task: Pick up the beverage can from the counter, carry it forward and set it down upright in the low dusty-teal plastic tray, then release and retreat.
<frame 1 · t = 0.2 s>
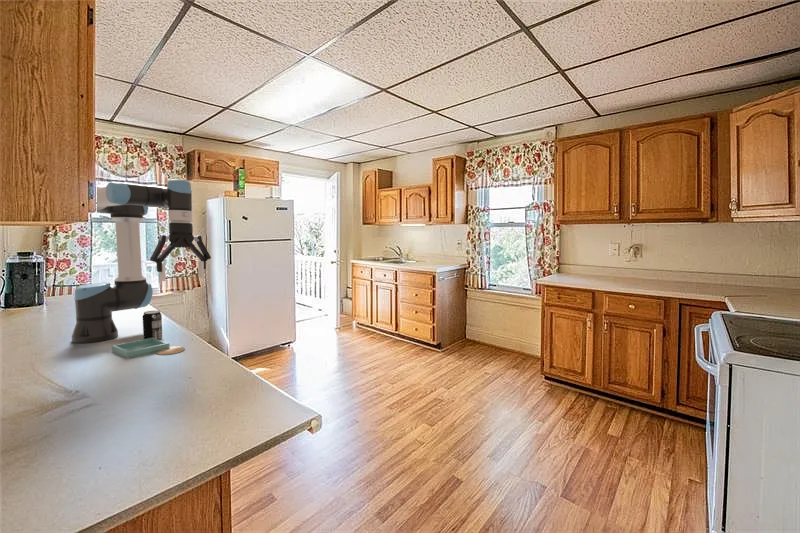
hand: (182, 279, 138), 28 cm above the counter, fingers open, 13 cm apart
cork coaster: (170, 351, 140), on the counter
tray: (141, 350, 140), on the counter
beverage can: (153, 340, 154), on the counter
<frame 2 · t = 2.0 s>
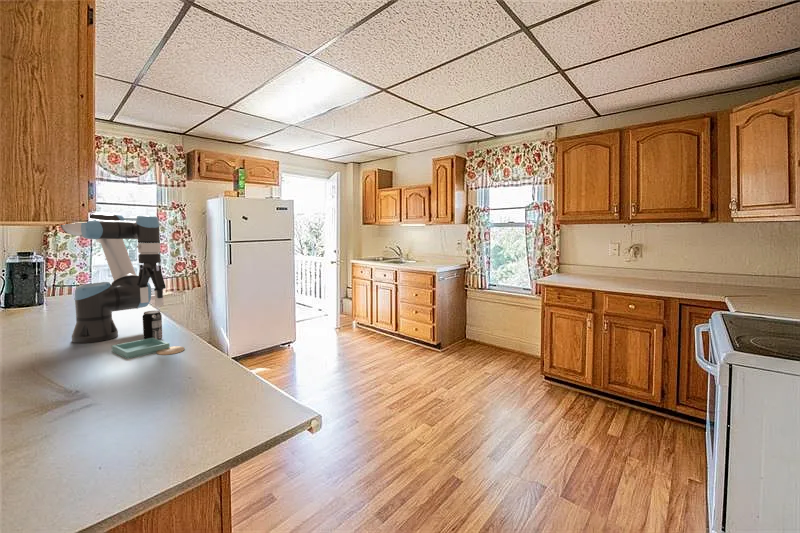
hand: (151, 304, 153), 15 cm above the counter, fingers open, 13 cm apart
nothing on the counter moved.
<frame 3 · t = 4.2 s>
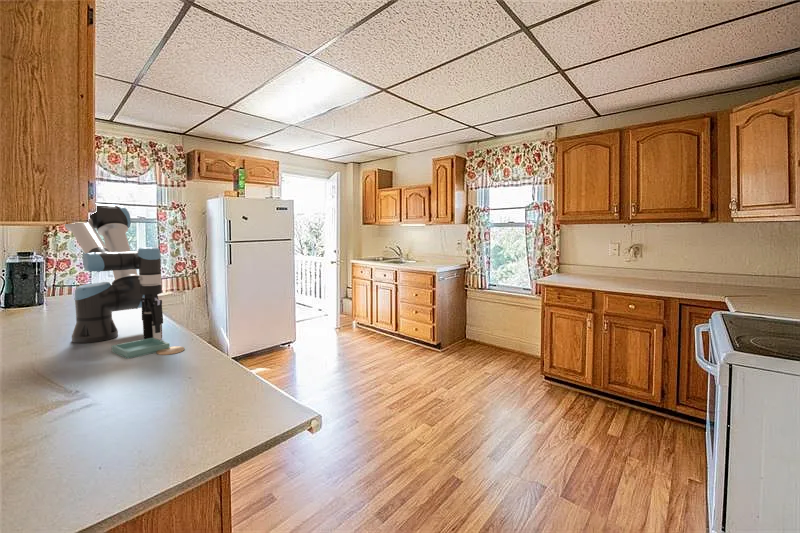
hand: (153, 338, 154), 0 cm above the counter, fingers closed on beverage can, 7 cm apart
beverage can: (153, 340, 154), on the counter, touching gripper
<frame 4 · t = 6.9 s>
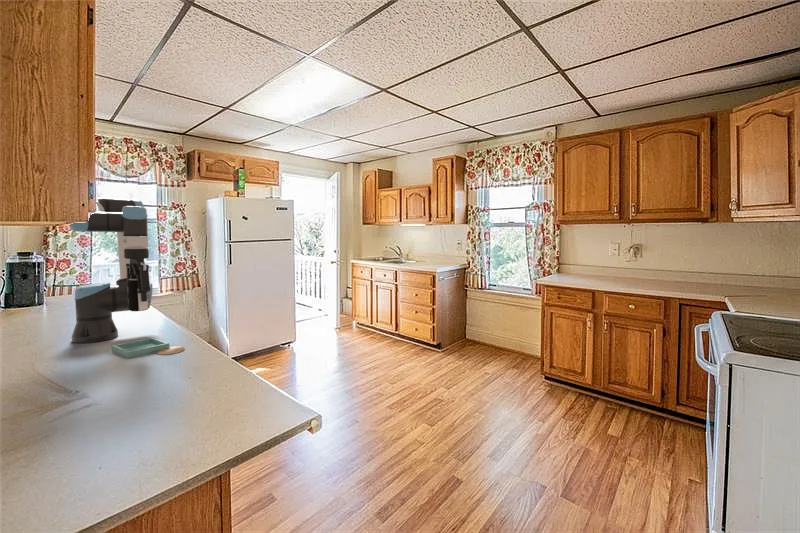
hand: (139, 308, 139), 16 cm above the counter, fingers closed on beverage can, 7 cm apart
beverage can: (139, 310, 139), point 15 cm above the counter, touching gripper
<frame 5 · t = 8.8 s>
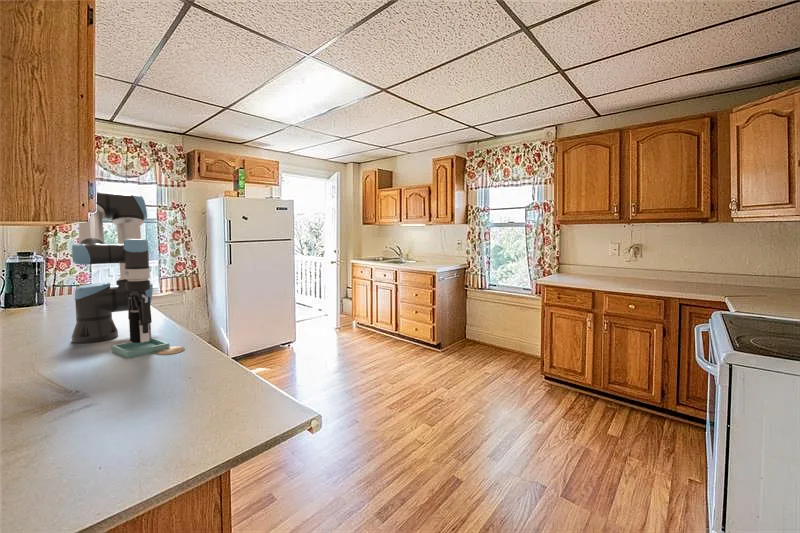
hand: (140, 339, 140), 4 cm above the counter, fingers closed on beverage can, 7 cm apart
beverage can: (140, 341, 140), point 3 cm above the counter, touching gripper
when the fingers open (3 cm above the counter, at t = 10.0 s): beverage can drops 1 cm, resting on tray.
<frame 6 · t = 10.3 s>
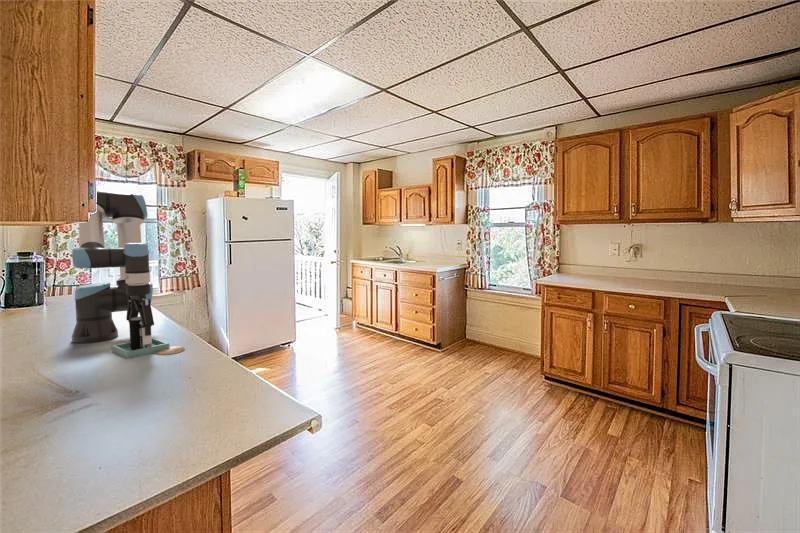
hand: (140, 341, 140), 3 cm above the counter, fingers open, 10 cm apart
beverage can: (141, 349, 140), resting on tray
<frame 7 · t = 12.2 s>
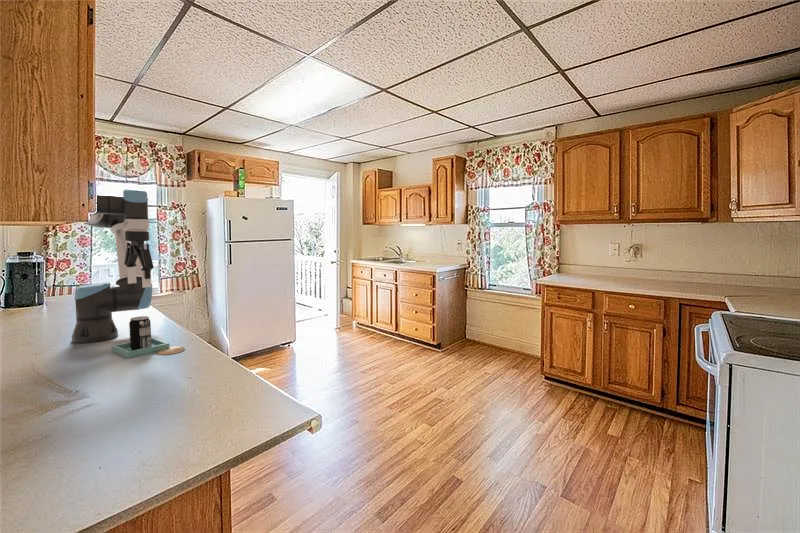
hand: (139, 285, 143), 24 cm above the counter, fingers open, 13 cm apart
nothing on the counter moved.
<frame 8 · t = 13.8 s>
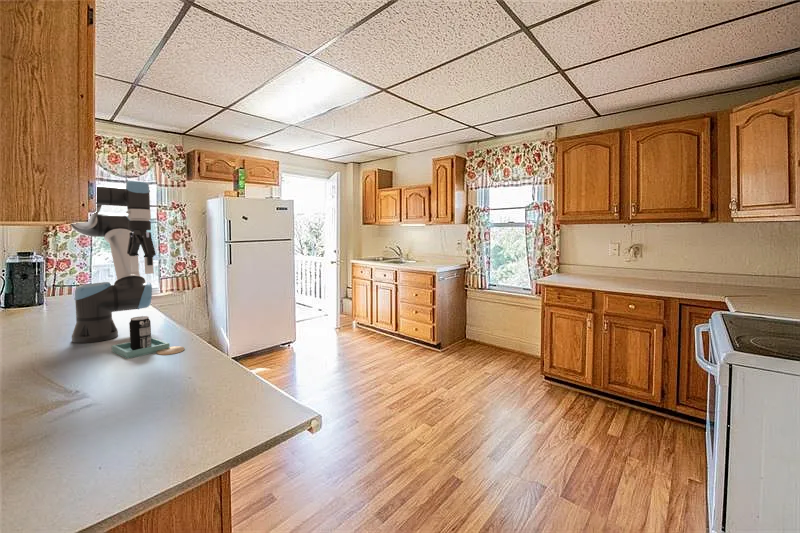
hand: (141, 272, 150), 29 cm above the counter, fingers open, 13 cm apart
nothing on the counter moved.
at the end: beverage can inside the target area on the tray (0.1 cm from its centre), point 0.4 cm above the tray's base; beverage can tilted 0°; the gripper is holding nothing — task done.
